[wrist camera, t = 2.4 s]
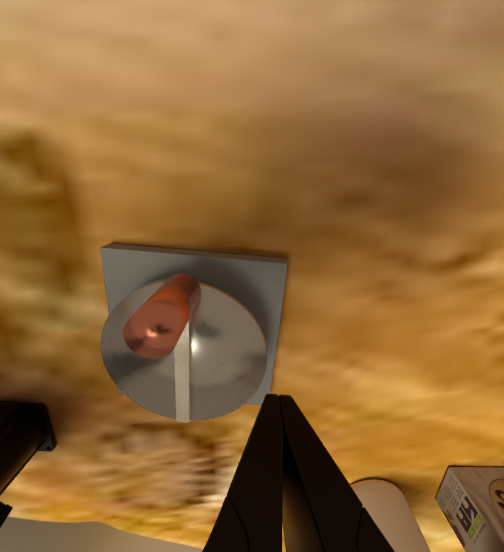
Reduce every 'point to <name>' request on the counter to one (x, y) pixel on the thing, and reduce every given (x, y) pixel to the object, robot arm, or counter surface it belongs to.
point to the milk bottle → (391, 515)
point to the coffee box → (475, 506)
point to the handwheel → (184, 349)
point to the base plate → (208, 267)
